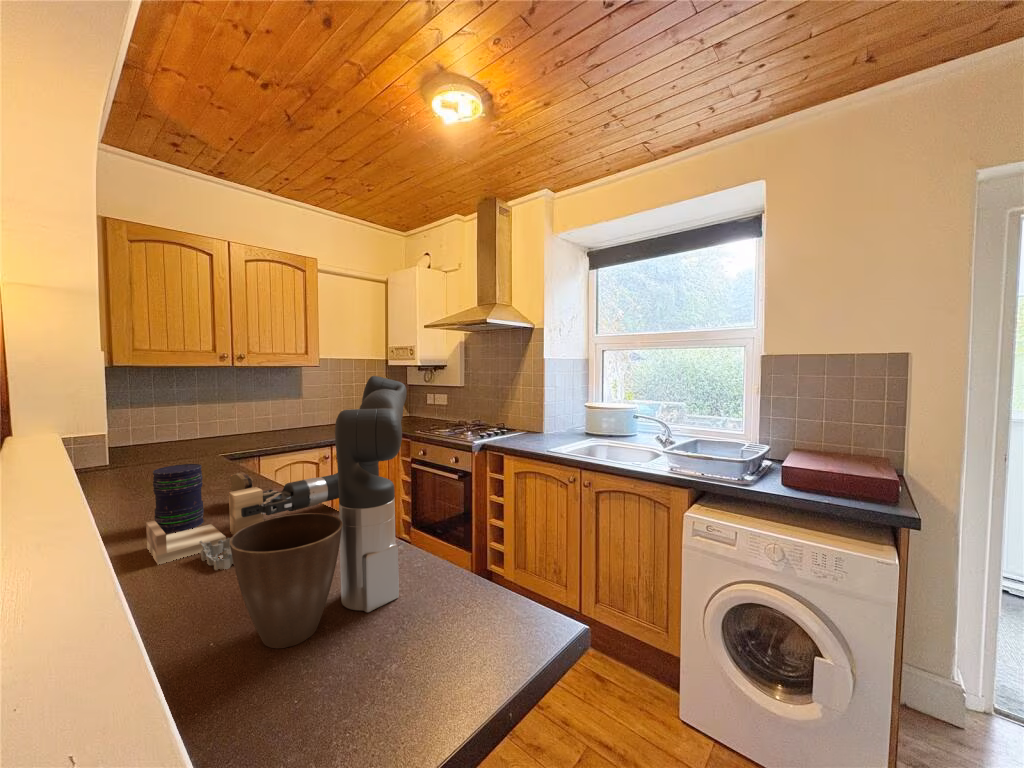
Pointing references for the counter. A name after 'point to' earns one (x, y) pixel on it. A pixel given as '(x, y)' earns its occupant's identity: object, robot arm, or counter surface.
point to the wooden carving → (240, 482)
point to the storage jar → (178, 497)
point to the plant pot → (286, 573)
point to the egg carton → (212, 552)
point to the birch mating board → (179, 541)
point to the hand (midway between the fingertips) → (236, 509)
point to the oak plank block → (240, 501)
